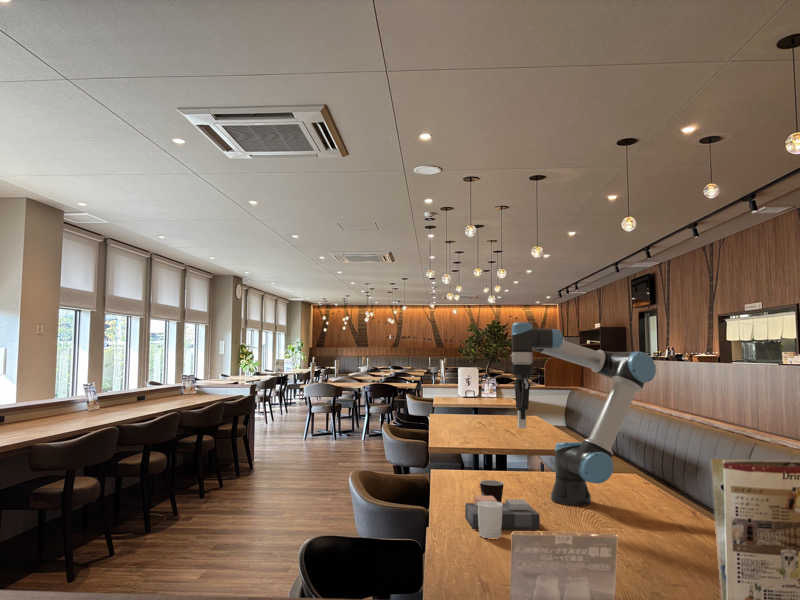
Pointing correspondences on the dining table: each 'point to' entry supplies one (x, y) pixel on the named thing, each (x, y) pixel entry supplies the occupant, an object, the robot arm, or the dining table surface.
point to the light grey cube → (517, 504)
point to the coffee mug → (492, 489)
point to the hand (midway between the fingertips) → (522, 428)
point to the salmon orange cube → (483, 499)
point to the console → (507, 518)
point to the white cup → (490, 518)
